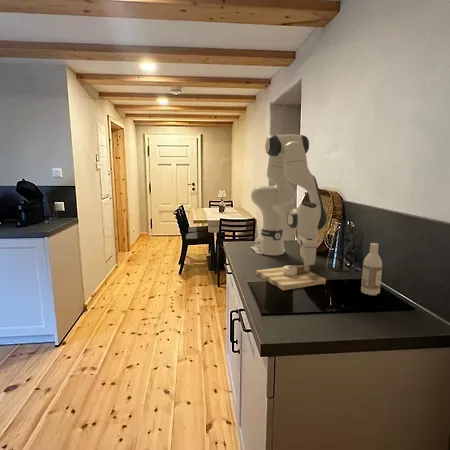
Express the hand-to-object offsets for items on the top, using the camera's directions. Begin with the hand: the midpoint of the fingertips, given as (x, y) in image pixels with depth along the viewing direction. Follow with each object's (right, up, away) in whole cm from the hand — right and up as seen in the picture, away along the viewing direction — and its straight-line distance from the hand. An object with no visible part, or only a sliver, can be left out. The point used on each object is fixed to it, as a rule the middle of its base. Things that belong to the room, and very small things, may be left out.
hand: (306, 269), depth 147 cm
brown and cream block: (-4, -2, +1) cm, 4 cm away
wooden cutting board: (-7, -4, 0) cm, 8 cm away
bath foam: (+22, -7, -16) cm, 28 cm away
